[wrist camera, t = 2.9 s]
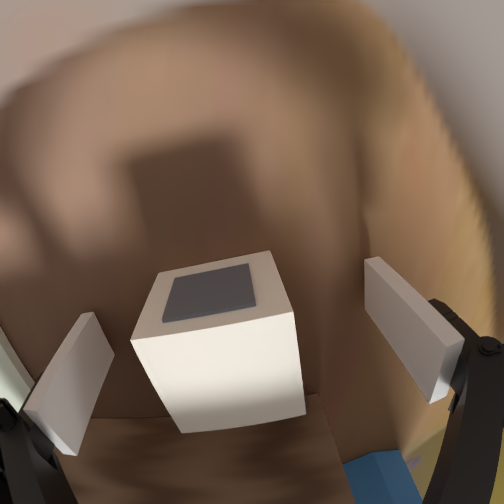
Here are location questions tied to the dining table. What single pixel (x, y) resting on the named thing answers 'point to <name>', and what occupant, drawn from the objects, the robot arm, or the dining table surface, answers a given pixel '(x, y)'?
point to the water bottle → (381, 479)
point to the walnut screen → (209, 462)
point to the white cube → (222, 344)
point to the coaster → (13, 375)
